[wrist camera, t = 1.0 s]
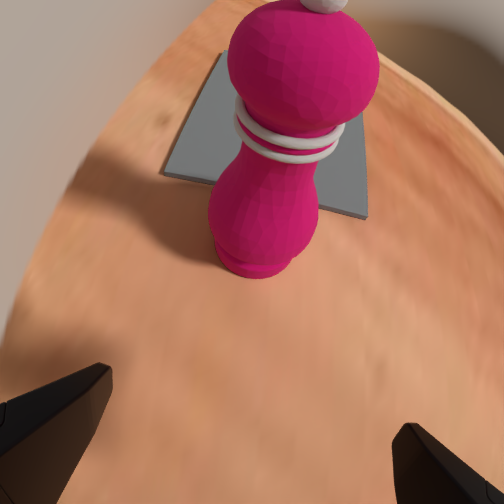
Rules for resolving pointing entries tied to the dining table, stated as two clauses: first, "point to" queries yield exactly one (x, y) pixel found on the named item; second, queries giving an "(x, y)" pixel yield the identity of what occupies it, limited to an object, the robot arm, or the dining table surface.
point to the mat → (229, 143)
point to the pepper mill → (286, 126)
